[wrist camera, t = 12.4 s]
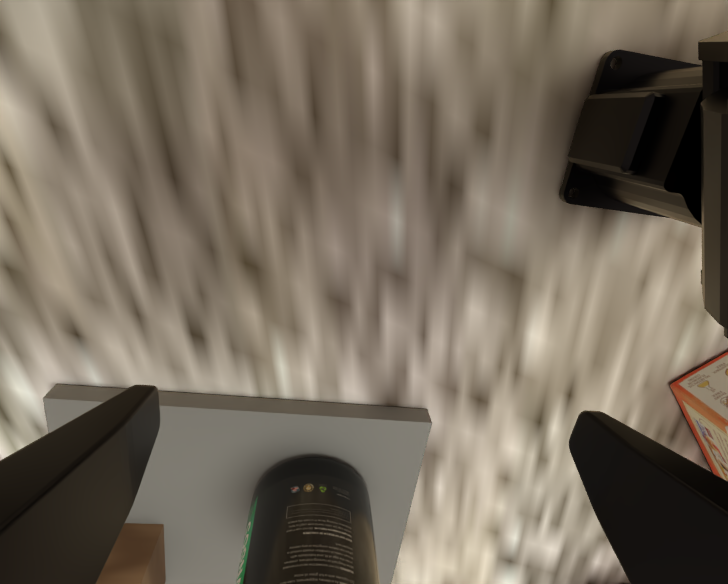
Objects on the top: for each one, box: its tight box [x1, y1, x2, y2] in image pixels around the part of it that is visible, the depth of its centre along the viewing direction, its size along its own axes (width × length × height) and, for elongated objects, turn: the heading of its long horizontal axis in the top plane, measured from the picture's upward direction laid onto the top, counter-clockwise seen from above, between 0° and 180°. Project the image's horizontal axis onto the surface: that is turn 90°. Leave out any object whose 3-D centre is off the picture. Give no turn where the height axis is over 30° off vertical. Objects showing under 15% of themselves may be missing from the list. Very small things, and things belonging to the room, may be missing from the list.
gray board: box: [43, 384, 432, 584], centre depth 26 cm, size 20×14×1 cm
